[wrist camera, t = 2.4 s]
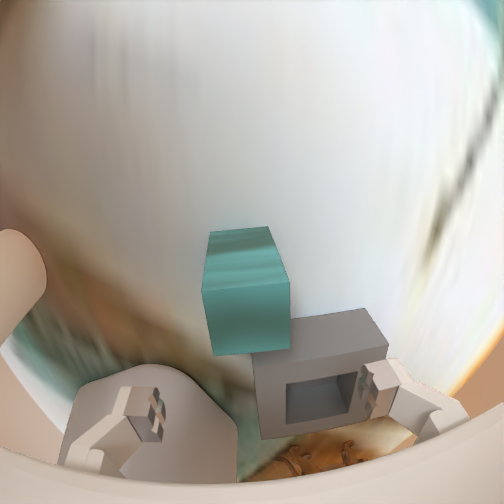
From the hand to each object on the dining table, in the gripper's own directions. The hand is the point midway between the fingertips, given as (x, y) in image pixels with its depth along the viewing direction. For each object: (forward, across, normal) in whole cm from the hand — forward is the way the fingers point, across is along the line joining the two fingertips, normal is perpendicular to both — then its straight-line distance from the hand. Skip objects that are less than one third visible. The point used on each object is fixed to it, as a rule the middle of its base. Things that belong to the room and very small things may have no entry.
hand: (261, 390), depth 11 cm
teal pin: (+12, 0, -1) cm, 12 cm away
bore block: (+12, -5, +10) cm, 17 cm away
